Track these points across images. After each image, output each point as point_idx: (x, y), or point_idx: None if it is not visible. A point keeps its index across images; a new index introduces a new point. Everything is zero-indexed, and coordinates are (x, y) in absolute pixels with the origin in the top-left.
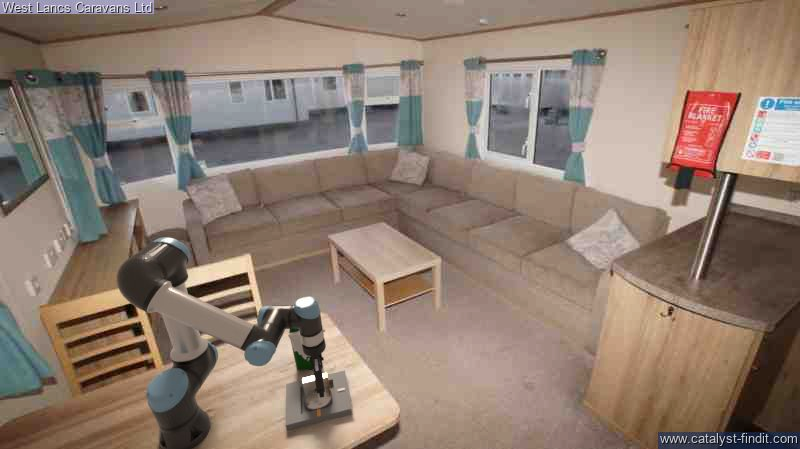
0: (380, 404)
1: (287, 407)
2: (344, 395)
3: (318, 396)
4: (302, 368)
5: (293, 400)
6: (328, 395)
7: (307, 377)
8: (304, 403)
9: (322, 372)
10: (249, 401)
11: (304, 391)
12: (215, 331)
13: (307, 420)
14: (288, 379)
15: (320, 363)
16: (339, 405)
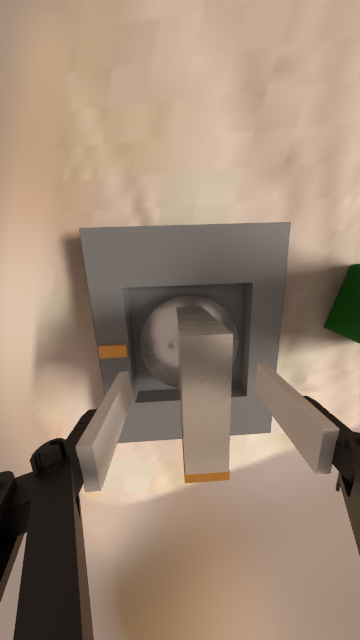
0: (133, 485)
1: (164, 232)
2: (167, 427)
3: (104, 398)
4: (347, 286)
5: (192, 257)
6: (179, 382)
7: (226, 369)
8: (171, 299)
9: (268, 403)
10: (267, 54)
11: (178, 319)
12: None
13: (93, 311)
14: (318, 232)
15: (317, 462)
16: (131, 412)
